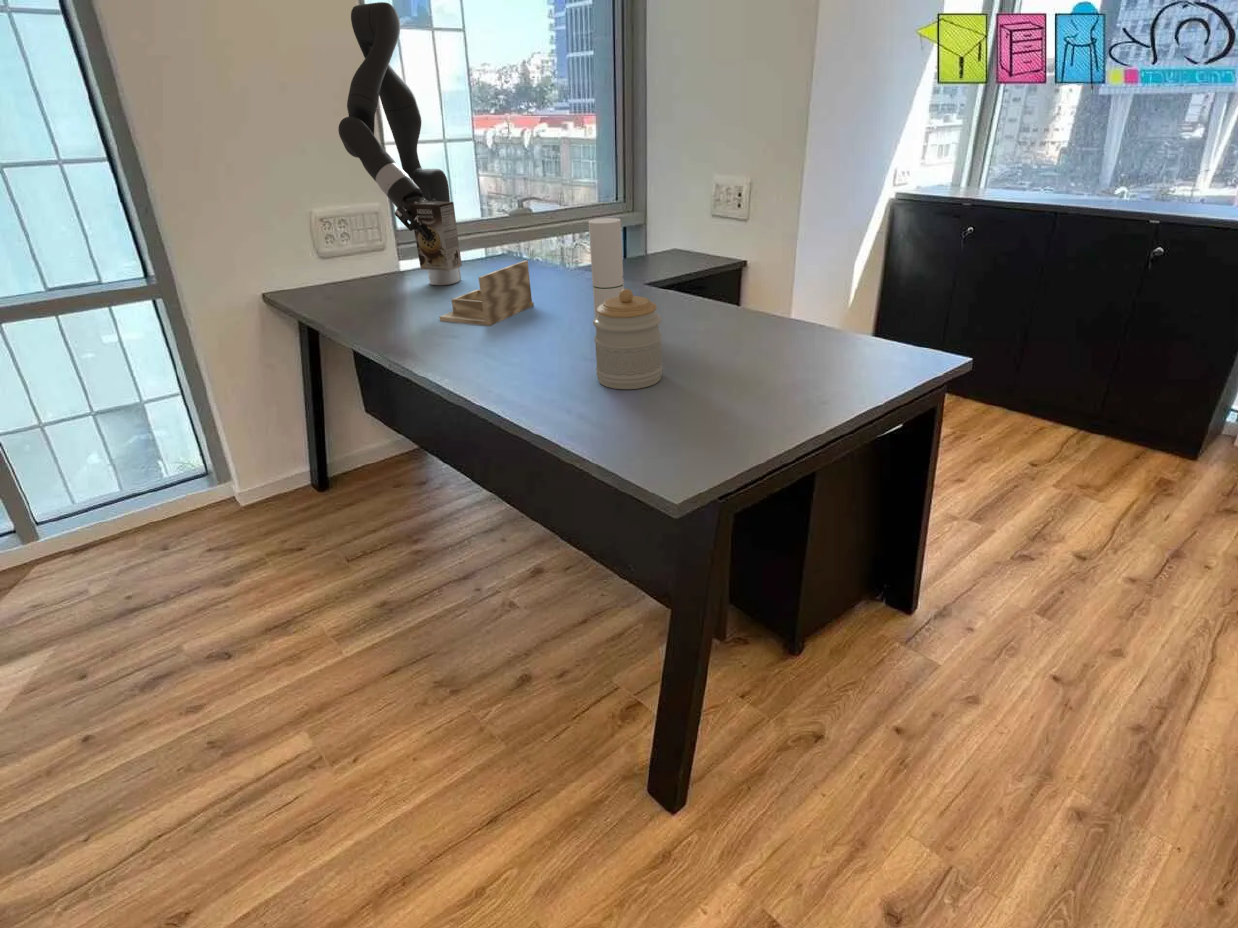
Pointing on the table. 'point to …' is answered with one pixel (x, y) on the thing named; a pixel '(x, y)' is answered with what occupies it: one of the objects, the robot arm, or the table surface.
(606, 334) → the jar
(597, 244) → the cylindrical container
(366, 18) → the robot arm
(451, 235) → the coffee box
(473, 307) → the holder
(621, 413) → the table surface
